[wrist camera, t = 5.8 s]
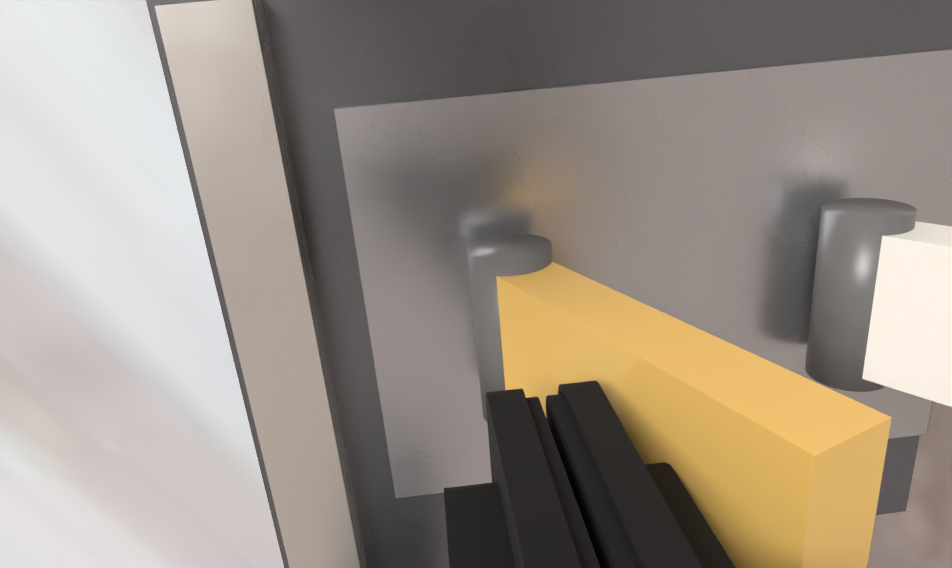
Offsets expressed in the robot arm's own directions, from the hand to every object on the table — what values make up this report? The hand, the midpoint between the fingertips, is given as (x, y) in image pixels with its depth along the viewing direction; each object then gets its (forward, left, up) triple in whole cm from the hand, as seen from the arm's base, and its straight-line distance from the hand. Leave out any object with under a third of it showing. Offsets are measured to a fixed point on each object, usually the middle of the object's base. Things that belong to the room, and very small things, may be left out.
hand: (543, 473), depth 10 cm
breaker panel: (-2, -1, -9) cm, 9 cm away
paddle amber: (0, -1, -4) cm, 4 cm away
